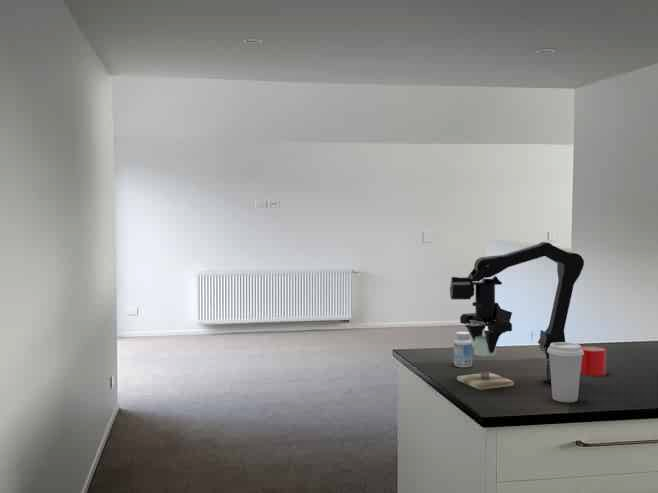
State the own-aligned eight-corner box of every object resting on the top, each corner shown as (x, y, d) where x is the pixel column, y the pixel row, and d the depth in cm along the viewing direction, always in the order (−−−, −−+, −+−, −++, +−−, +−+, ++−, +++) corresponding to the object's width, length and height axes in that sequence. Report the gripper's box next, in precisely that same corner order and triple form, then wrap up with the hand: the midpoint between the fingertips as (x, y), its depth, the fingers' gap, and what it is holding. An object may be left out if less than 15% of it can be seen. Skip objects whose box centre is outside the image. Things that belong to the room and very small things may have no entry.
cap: (499, 355, 194) (499, 338, 194) (482, 357, 192) (482, 340, 191) (487, 351, 199) (487, 335, 199) (471, 352, 197) (470, 336, 197)
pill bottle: (471, 363, 220) (471, 331, 220) (473, 368, 214) (473, 334, 214) (453, 363, 221) (453, 330, 220) (454, 367, 215) (454, 334, 214)
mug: (571, 366, 215) (571, 343, 214) (609, 372, 207) (609, 348, 206) (562, 371, 209) (562, 347, 208) (600, 377, 201) (601, 352, 200)
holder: (513, 385, 193) (513, 374, 192) (479, 389, 188) (479, 378, 188) (489, 376, 204) (489, 365, 204) (457, 380, 199) (457, 369, 199)
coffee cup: (574, 393, 183) (575, 341, 182) (589, 403, 174) (590, 348, 173) (541, 394, 183) (541, 341, 182) (554, 404, 173) (554, 349, 173)
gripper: (527, 301, 189) (527, 354, 190) (489, 294, 206) (489, 342, 207) (495, 303, 185) (495, 358, 186) (459, 296, 202) (459, 345, 203)
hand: (485, 350), depth 195 cm, fingers closed on cap, 6 cm apart
